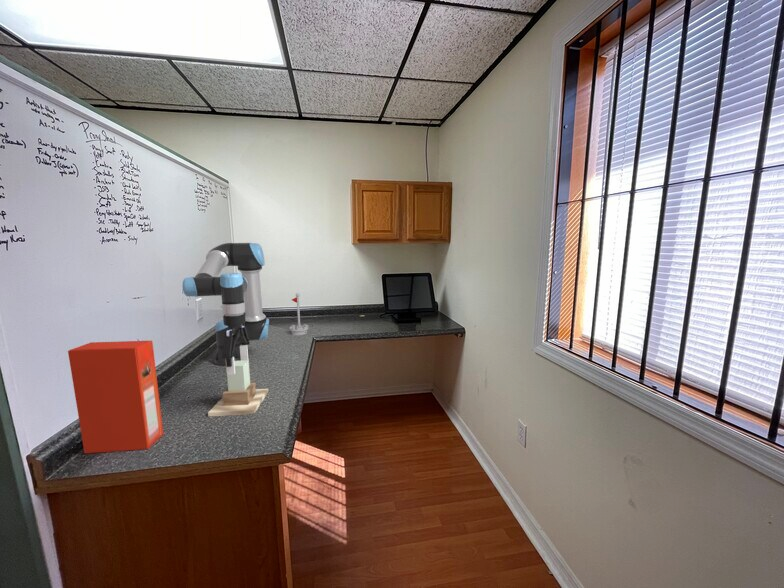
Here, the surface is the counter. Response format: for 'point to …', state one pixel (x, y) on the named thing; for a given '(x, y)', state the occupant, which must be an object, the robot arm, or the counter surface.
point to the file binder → (116, 395)
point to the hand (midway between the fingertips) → (238, 367)
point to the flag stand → (298, 329)
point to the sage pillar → (239, 376)
